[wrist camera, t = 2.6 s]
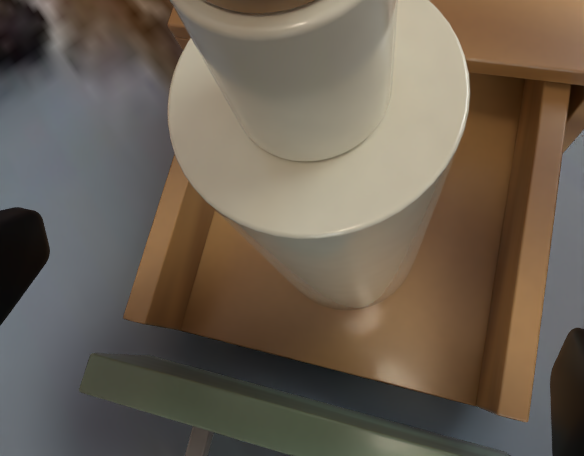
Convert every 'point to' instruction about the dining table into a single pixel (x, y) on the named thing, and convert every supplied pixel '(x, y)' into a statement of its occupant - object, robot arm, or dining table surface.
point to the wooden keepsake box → (511, 43)
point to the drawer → (368, 321)
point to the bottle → (321, 132)
